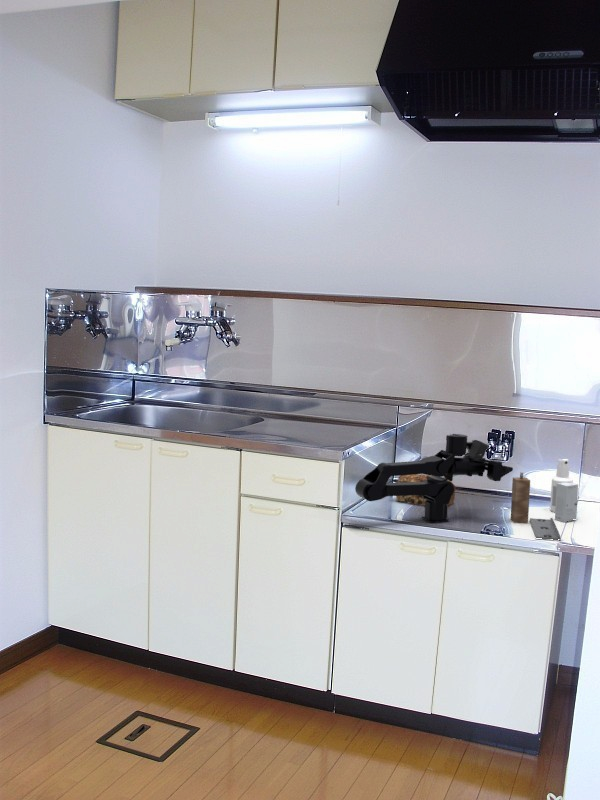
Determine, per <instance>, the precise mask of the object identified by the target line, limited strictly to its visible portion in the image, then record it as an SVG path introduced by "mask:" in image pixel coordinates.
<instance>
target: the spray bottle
mask: <svg viewBox="0 0 600 800" xmlns="http://www.w3.org/2000/svg"><path fill="white" fill-rule="evenodd" d="M569 461H570V459H568V458H563V459H561V458H558V459H557V462H558V463H557V465H556V472H555V473H556V476H553V477H552V478H551V487H550V490H551V491H550V505H549V508H550V509H549V510H550V511H551V512H553V513H555V506H556V488H557V483H565V482H570V483H574V480H573V479H572V478H571V477H570V465H569V463H570V462H569Z"/></svg>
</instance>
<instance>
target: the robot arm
mask: <svg viewBox="0 0 600 800" xmlns="http://www.w3.org/2000/svg"><path fill="white" fill-rule="evenodd" d="M445 440H446V443H445V444H446V445H445V450H444V449H441V450H439V451H438V452H437V453H436V454H434V455H431V456H427V457H423V458H421V459H419V460H414V461H412V460H411V461H399V462H398V461H397V462H381V463H379V464H377V466H375V468H374V469H373V470H371V471H370V472H368V473H367V474H365V476H364V477H363V478H362V479H359V481H357V483H356V484H355V491H354V492H355V493H356V495H358V497H360V498H362V499H363V500H366V501H367V502H375V501H380V500H382V499H385V498H387V497H397V496H410V495H422V496H423V499H426V500H427V501H425V506H424V516H421V519H423V520H424V521H427V522H429V523H430V524H435V523H447V522H449V519H448V507H449V506H447V504H449V501H450V499H451V496H452V495H453V493H454V485H455V484H454V483H453V480H454V478H453V477H454V476H467V477H473V476H478V477H484V473H485V471H486V477H487V479H489V480H491V481H494V482H500V481H501V480H502V478H503V477H505V476H506V475H508V474H510V473H511V472H513V470H514V468H513V467H512V466H507V465H503V463H502V461H499V460H498V459H497V460H493V459H490V460H488V459H486V458H485V455H486V453H487V450H488V448H489V444H487V443H485V442H483V441H480V440H477V439H472V440H471V441H468V435H467V434H461V433H452V434H449V435H448V434H447V435H446V438H445ZM414 474H420V475H421V474H422V475H431V476H427V480H426V481H424V482H399V483H397V482H389V479H390V478H391V477H399V476H401V475H414ZM447 480H449V481H447ZM450 481H451V482H450ZM452 483H453V484H454V485H453V484H452Z"/></svg>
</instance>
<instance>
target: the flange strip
mask: <svg viewBox="0 0 600 800" xmlns="http://www.w3.org/2000/svg"><path fill="white" fill-rule="evenodd" d="M529 523H530V525H531V529H532V531H533V534H534V538H535V537H536V538H542V539H553V540H552V541H554V540H558V539H560V540H561V535H560V532H559V530H558V528H557V526H556V523H555V521H554V519H553V517H550V518H549V519H547V518H533V517H531V518H529ZM536 538H535V539H536Z"/></svg>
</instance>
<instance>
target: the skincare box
mask: <svg viewBox="0 0 600 800" xmlns="http://www.w3.org/2000/svg"><path fill="white" fill-rule="evenodd" d="M578 494H579V484H578V483H575V482H573V483H570V482H565V483H557V488H556V506H555V512H554V520H556V521H559V522H563V523H567V521H568V522H570V521H569V520H573V519H576V520H577V515H578V514H577V513H578V498H579V497H578V496H579V495H578Z"/></svg>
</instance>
